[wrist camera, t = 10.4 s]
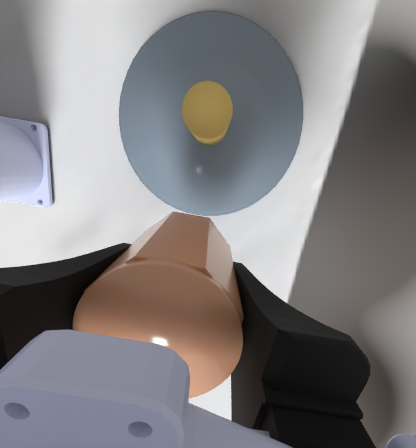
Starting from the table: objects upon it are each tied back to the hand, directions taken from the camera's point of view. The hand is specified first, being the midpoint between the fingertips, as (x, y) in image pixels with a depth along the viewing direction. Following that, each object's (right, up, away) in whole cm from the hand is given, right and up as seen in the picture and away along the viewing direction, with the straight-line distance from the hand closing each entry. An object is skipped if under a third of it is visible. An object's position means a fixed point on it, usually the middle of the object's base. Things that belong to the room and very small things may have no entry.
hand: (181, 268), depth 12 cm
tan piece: (0, +1, +2) cm, 2 cm away
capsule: (+2, +11, +5) cm, 13 cm away
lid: (+2, +11, +6) cm, 13 cm away
